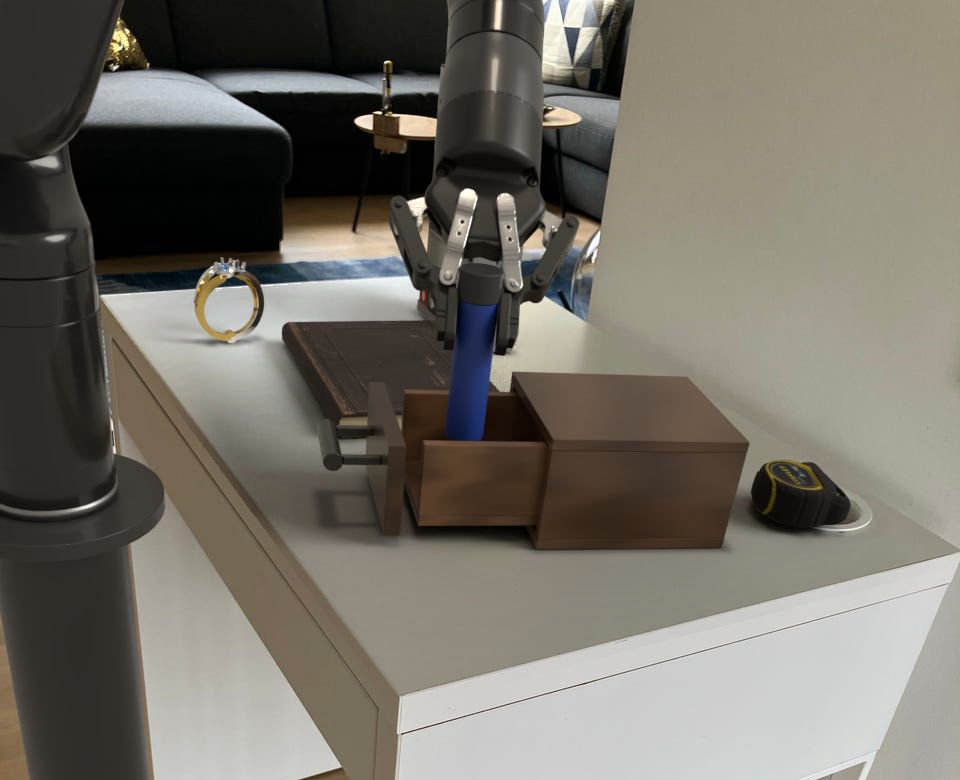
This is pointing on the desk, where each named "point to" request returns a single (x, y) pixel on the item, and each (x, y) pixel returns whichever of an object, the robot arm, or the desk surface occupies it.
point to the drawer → (445, 461)
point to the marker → (473, 350)
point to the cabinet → (631, 461)
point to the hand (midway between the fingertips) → (475, 346)
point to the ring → (207, 287)
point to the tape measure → (798, 495)
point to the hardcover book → (367, 363)
